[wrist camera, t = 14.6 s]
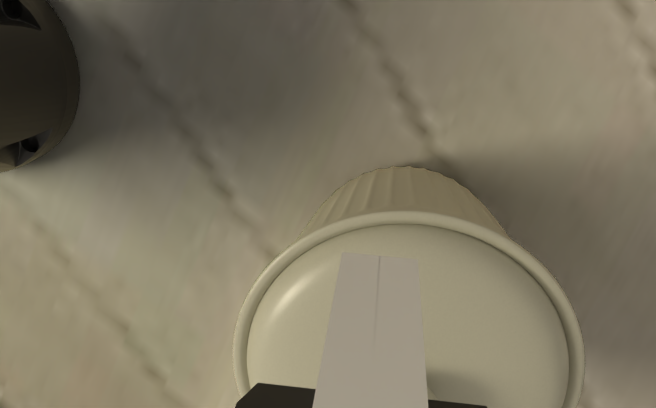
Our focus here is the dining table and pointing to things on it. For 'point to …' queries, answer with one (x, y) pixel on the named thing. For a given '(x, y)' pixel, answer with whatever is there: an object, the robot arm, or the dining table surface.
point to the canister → (436, 296)
